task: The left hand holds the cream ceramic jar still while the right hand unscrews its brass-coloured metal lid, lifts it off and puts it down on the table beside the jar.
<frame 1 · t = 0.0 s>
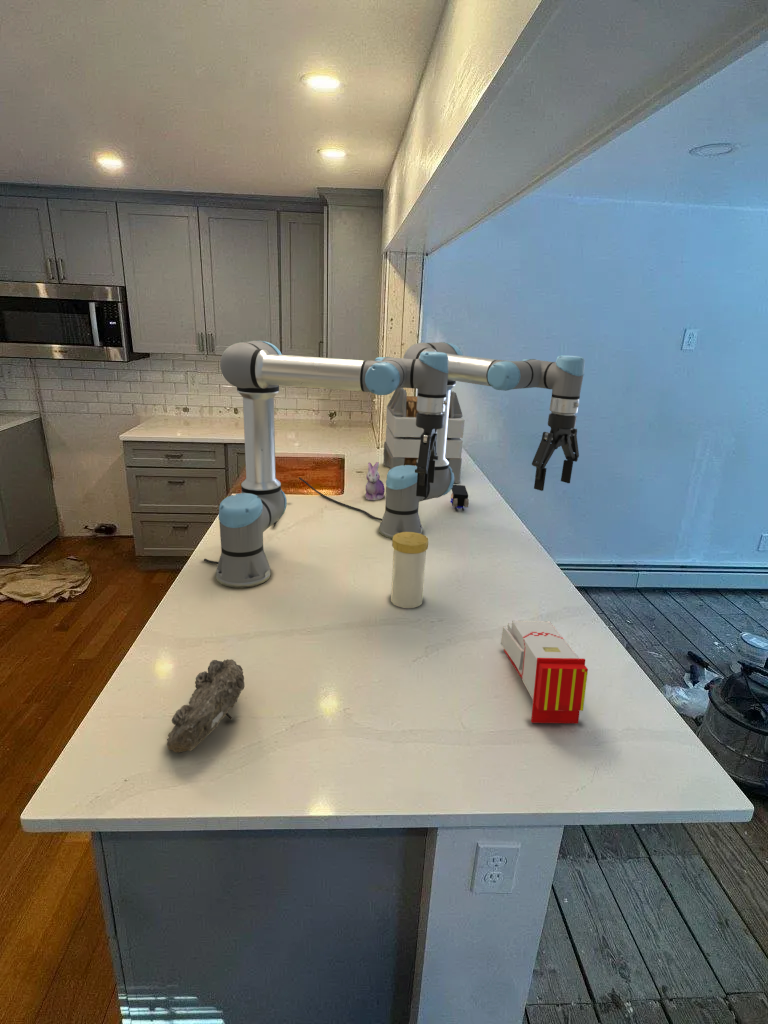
left hand: (425, 489, 157), 28 cm above the counter, tool pointing down, fingers open, 13 cm apart
right hand: (552, 485, 166), 28 cm above the counter, tool pointing down, fingers open, 13 cm apart
fossil: (212, 717, 108), on the counter
jar: (406, 600, 155), on the counter
figurine character: (458, 507, 230), on the counter
lid: (410, 539, 149), point 18 cm above the counter, screwed on, not yet turned
feather: (280, 515, 212), on the counter
figurine: (374, 497, 237), on the counter
toy: (534, 680, 123), on the counter
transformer: (419, 473, 275), on the counter
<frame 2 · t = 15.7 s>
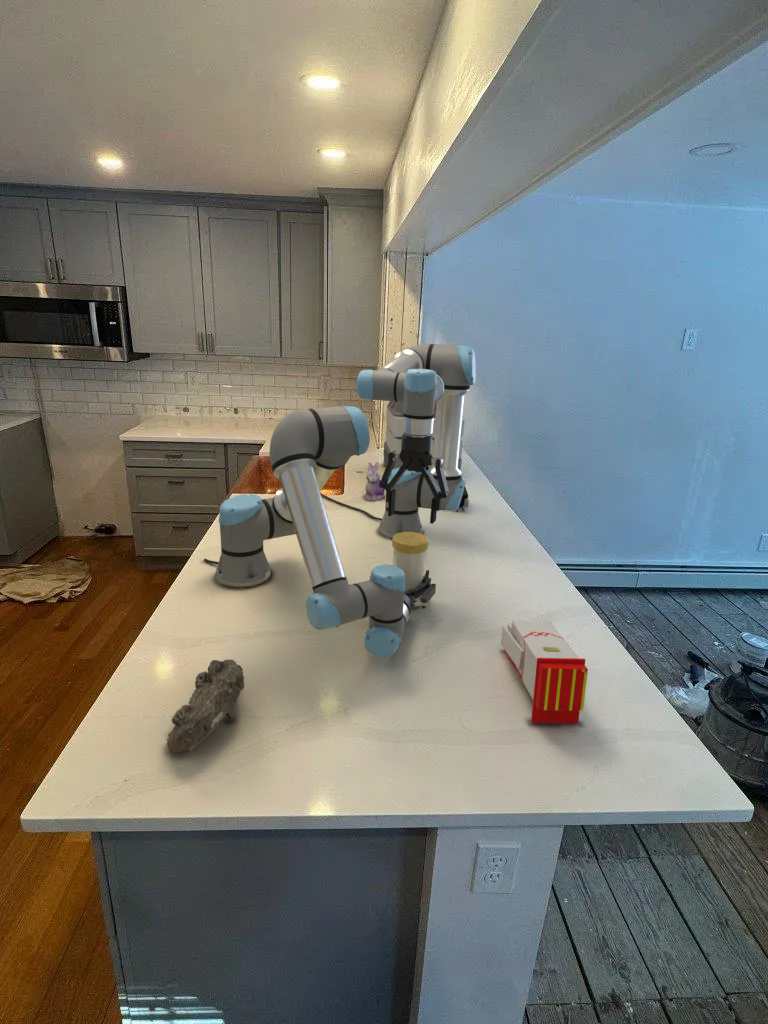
left hand: (410, 572, 157), 6 cm above the counter, tool horizontal, fingers closed on jar, 9 cm apart
right hand: (411, 518, 147), 24 cm above the counter, tool pointing down, fingers open, 11 cm apart
jar: (406, 600, 155), on the counter, touching left hand
everything else where it was.
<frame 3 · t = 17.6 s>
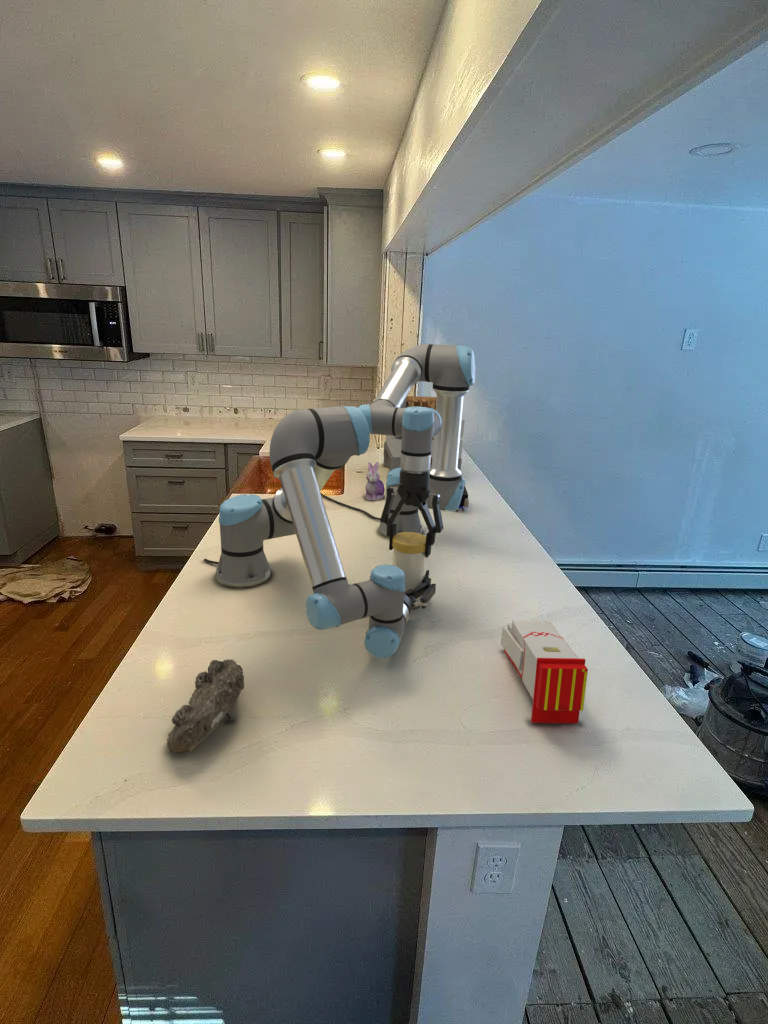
left hand: (410, 572, 157), 6 cm above the counter, tool horizontal, fingers closed on jar, 9 cm apart
right hand: (409, 551, 150), 14 cm above the counter, tool pointing down, fingers closed on lid, 9 cm apart
jar: (406, 600, 155), on the counter, touching left hand
lid: (410, 539, 149), point 18 cm above the counter, screwed on, not yet turned, touching right hand
everything else where it was.
when the right hand's fingers open (15 cm above the counter, at t = 19.2 s): lid stays where it is, point 18 cm above the counter.
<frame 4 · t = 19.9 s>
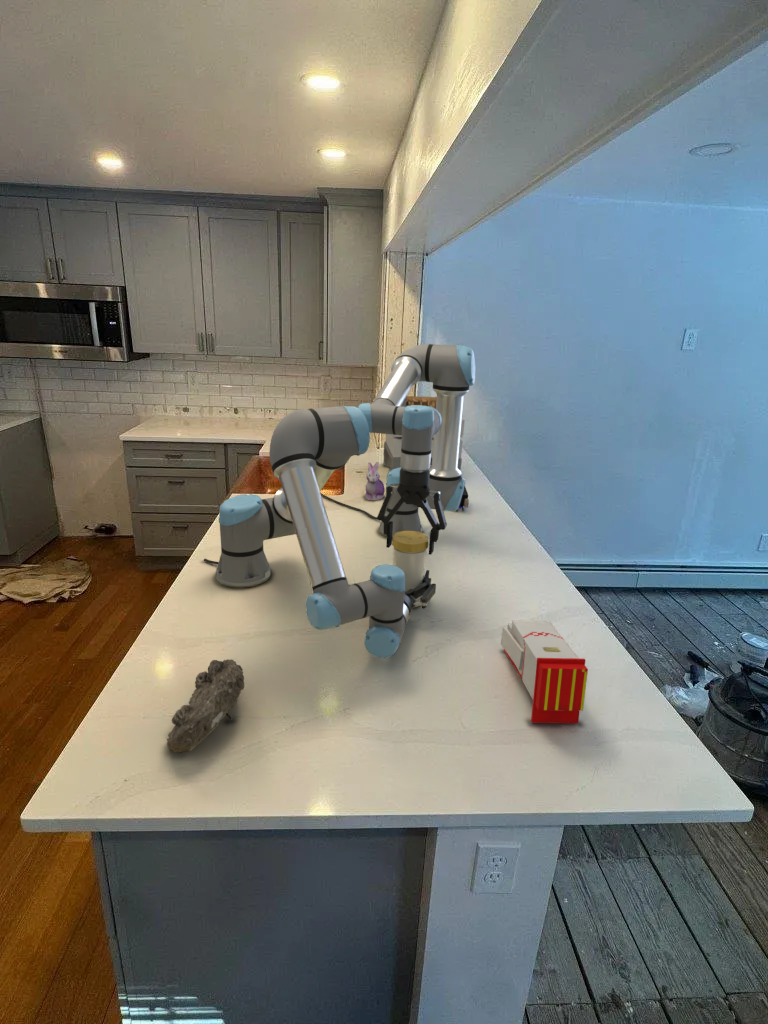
left hand: (410, 572, 157), 6 cm above the counter, tool horizontal, fingers closed on jar, 9 cm apart
right hand: (409, 549, 149), 15 cm above the counter, tool pointing down, fingers open, 11 cm apart
jar: (406, 600, 155), on the counter, touching left hand
lid: (410, 538, 148), point 18 cm above the counter, turned 102° so far, risen 0.4 cm, still on its thread
everything else where it was.
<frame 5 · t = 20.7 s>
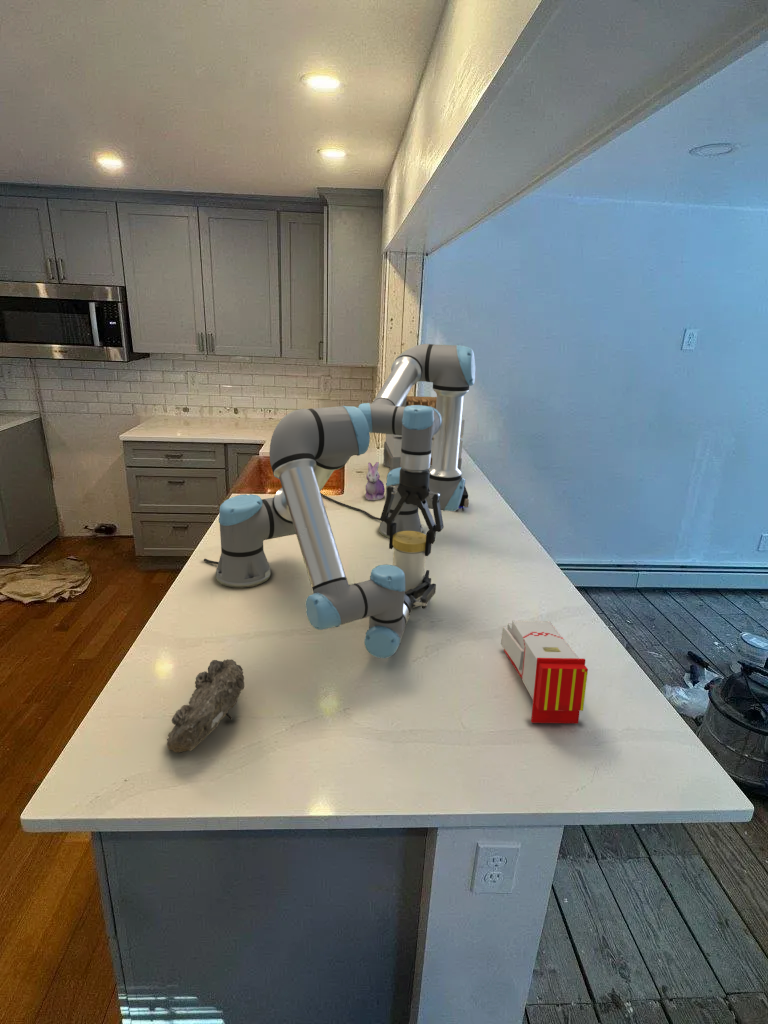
left hand: (410, 572, 157), 6 cm above the counter, tool horizontal, fingers closed on jar, 9 cm apart
right hand: (409, 550, 150), 15 cm above the counter, tool pointing down, fingers closed on lid, 9 cm apart
jar: (406, 600, 155), on the counter, touching left hand
lid: (410, 538, 148), point 18 cm above the counter, turned 102° so far, risen 0.4 cm, still on its thread, touching right hand
everything else where it was.
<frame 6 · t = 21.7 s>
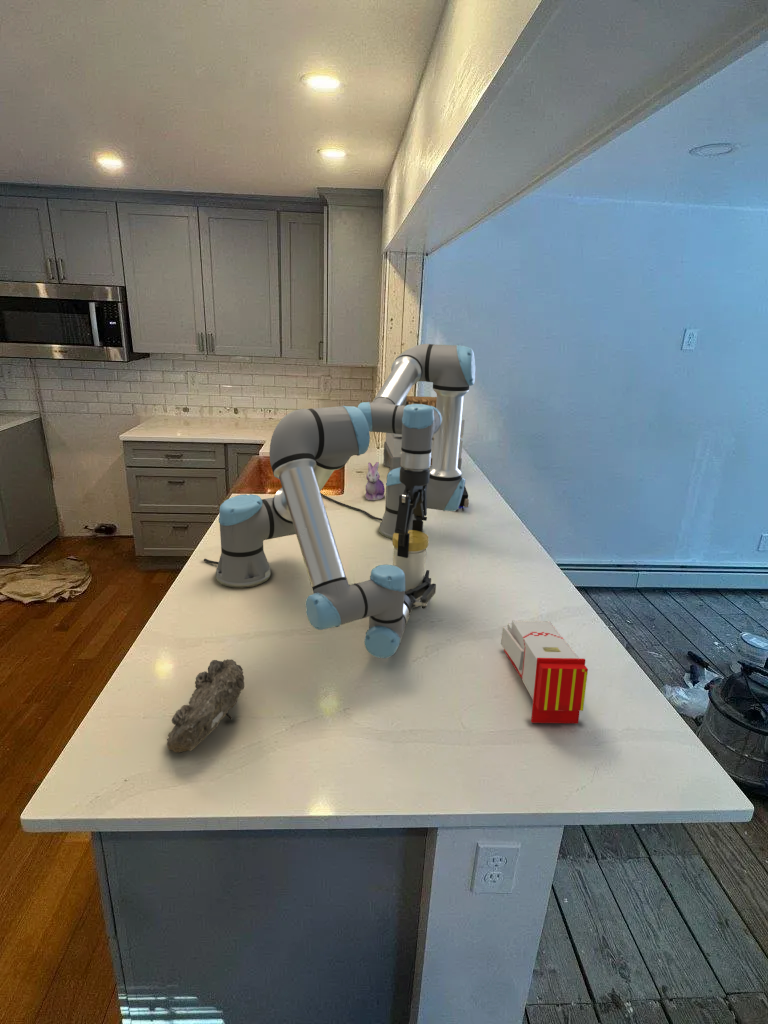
left hand: (411, 572, 157), 6 cm above the counter, tool horizontal, fingers closed on jar, 9 cm apart
right hand: (409, 549, 150), 15 cm above the counter, tool pointing down, fingers closed on lid, 9 cm apart
jar: (406, 600, 155), on the counter, touching left hand
lid: (410, 537, 148), point 19 cm above the counter, off its thread, touching right hand
everything else where it was.
when the right hand's fingers open (0 cm above the counter, at t = 26.9 s): lid drops 2 cm, point 2 cm above the counter.
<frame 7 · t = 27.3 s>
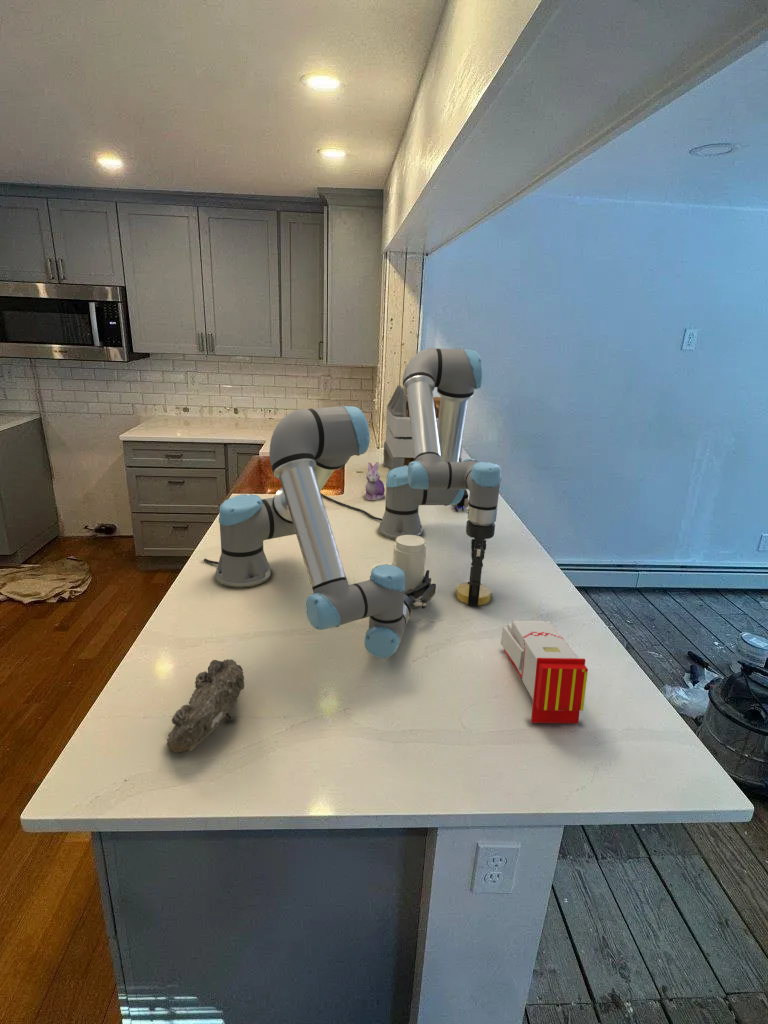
left hand: (411, 572, 157), 6 cm above the counter, tool horizontal, fingers closed on jar, 9 cm apart
right hand: (473, 596, 158), 0 cm above the counter, tool pointing down, fingers open, 9 cm apart
jar: (406, 600, 155), on the counter, touching left hand
lid: (473, 590, 157), point 2 cm above the counter, off its thread, touching right hand
everything else where it was.
when the left hand's fingers open (6 cm above the counter, at t = 28.5 s): jar stays where it is, on the counter.
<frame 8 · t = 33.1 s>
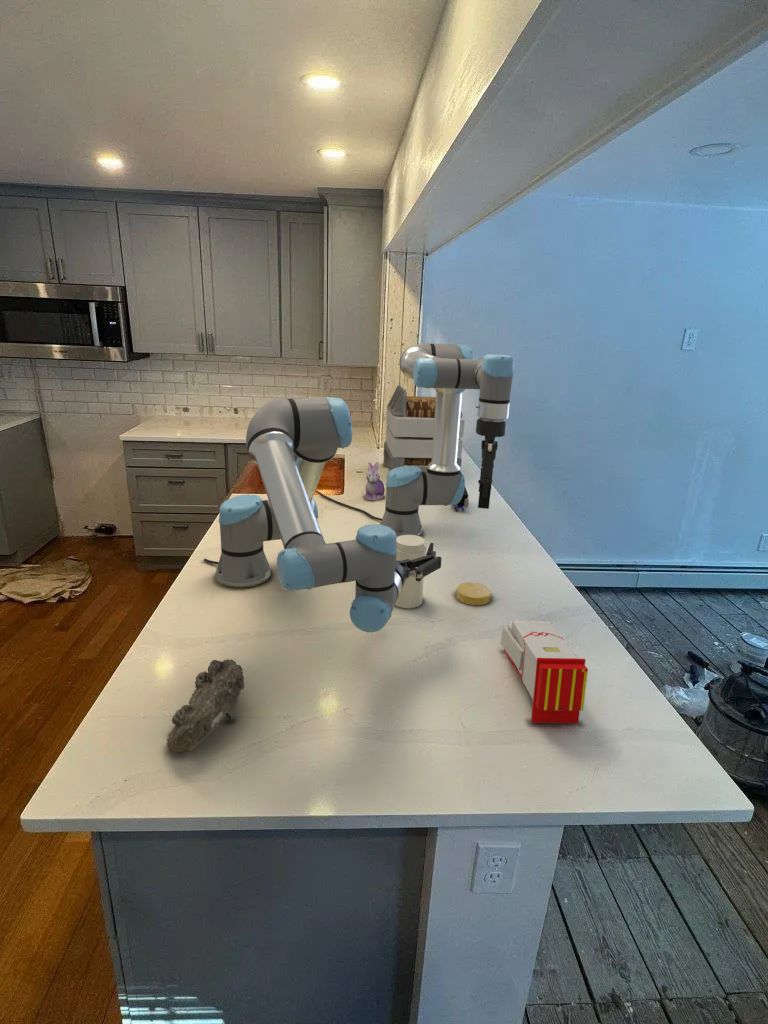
left hand: (404, 544, 139), 20 cm above the counter, tool horizontal, fingers open, 13 cm apart
right hand: (483, 499, 149), 29 cm above the counter, tool pointing down, fingers open, 13 cm apart
jar: (406, 600, 155), on the counter
lid: (473, 590, 157), point 2 cm above the counter, off its thread
everything else where it was.
at the end: lid came off its thread; lid point 1.9 cm above the counter; the left hand is holding nothing; the right hand is holding nothing; jar tilted 0°; jar moved 0.0 cm from its start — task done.
